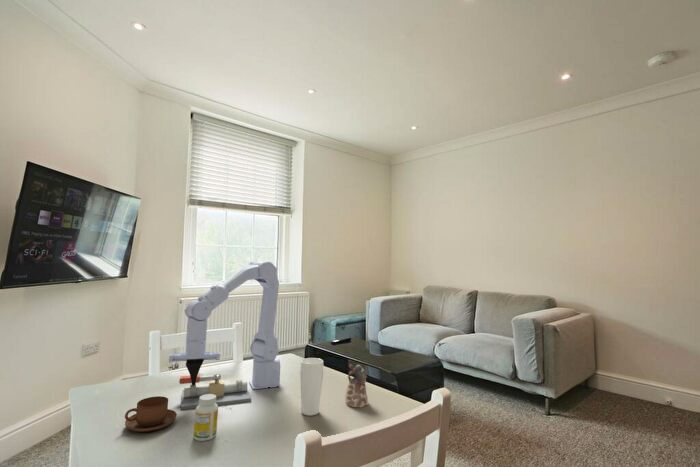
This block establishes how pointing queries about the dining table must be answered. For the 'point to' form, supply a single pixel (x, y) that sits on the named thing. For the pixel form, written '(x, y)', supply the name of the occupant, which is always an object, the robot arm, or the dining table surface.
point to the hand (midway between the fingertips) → (193, 384)
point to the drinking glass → (311, 385)
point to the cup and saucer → (150, 415)
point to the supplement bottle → (206, 418)
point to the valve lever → (199, 378)
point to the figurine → (356, 387)
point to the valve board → (218, 400)
